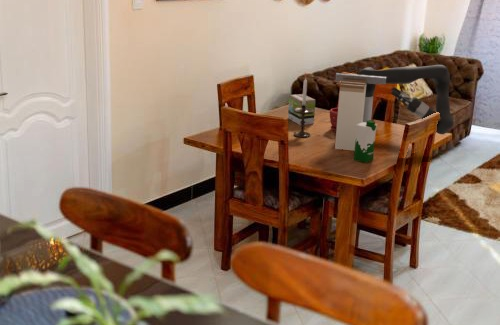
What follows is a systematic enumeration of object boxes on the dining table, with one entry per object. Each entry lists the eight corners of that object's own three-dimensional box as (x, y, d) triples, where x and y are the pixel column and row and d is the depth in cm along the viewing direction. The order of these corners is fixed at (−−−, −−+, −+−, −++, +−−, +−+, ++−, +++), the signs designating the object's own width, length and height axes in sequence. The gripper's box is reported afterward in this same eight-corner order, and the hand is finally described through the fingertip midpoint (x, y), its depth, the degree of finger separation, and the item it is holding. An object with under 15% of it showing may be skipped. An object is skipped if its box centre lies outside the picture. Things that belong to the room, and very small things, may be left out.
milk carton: (366, 163, 329) (370, 124, 323) (350, 159, 335) (354, 120, 328) (375, 159, 336) (379, 120, 329) (359, 155, 341) (363, 117, 335)
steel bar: (385, 83, 355) (386, 76, 354) (385, 84, 352) (386, 78, 351) (336, 79, 360) (336, 72, 359) (335, 80, 357) (335, 74, 356)
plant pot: (351, 128, 390) (353, 107, 386) (352, 134, 378) (354, 113, 374) (328, 126, 391) (330, 106, 387) (328, 132, 379) (330, 111, 375)
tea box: (287, 118, 404) (288, 94, 400) (302, 117, 408) (303, 93, 404) (299, 125, 391) (300, 100, 387) (314, 124, 396) (316, 99, 391)
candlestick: (301, 139, 365) (305, 74, 353) (287, 134, 373) (291, 71, 361) (315, 136, 371) (320, 72, 360) (302, 131, 379) (306, 69, 368)
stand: (361, 138, 371) (367, 77, 360) (358, 151, 349) (364, 86, 338) (339, 136, 373) (344, 75, 362) (334, 148, 351) (340, 84, 340)
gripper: (422, 98, 359) (396, 81, 359) (422, 104, 346) (396, 86, 346) (413, 110, 362) (388, 92, 362) (413, 116, 348) (387, 98, 348)
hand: (392, 89), depth 354 cm, fingers open, 8 cm apart
